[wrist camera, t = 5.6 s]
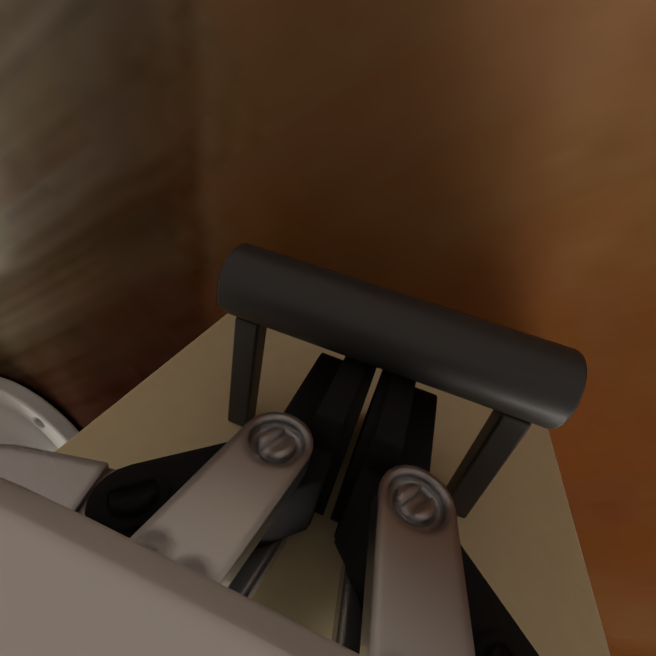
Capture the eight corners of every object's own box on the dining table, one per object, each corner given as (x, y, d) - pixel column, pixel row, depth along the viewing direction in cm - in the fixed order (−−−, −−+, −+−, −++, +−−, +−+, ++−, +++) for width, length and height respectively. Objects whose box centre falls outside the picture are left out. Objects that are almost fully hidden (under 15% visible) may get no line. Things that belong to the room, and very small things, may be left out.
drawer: (241, 180, 12) (-89, 263, 5) (638, 296, 10) (1075, 728, 3) (217, 519, 23) (103, 702, 16) (408, 608, 21) (379, 865, 14)
